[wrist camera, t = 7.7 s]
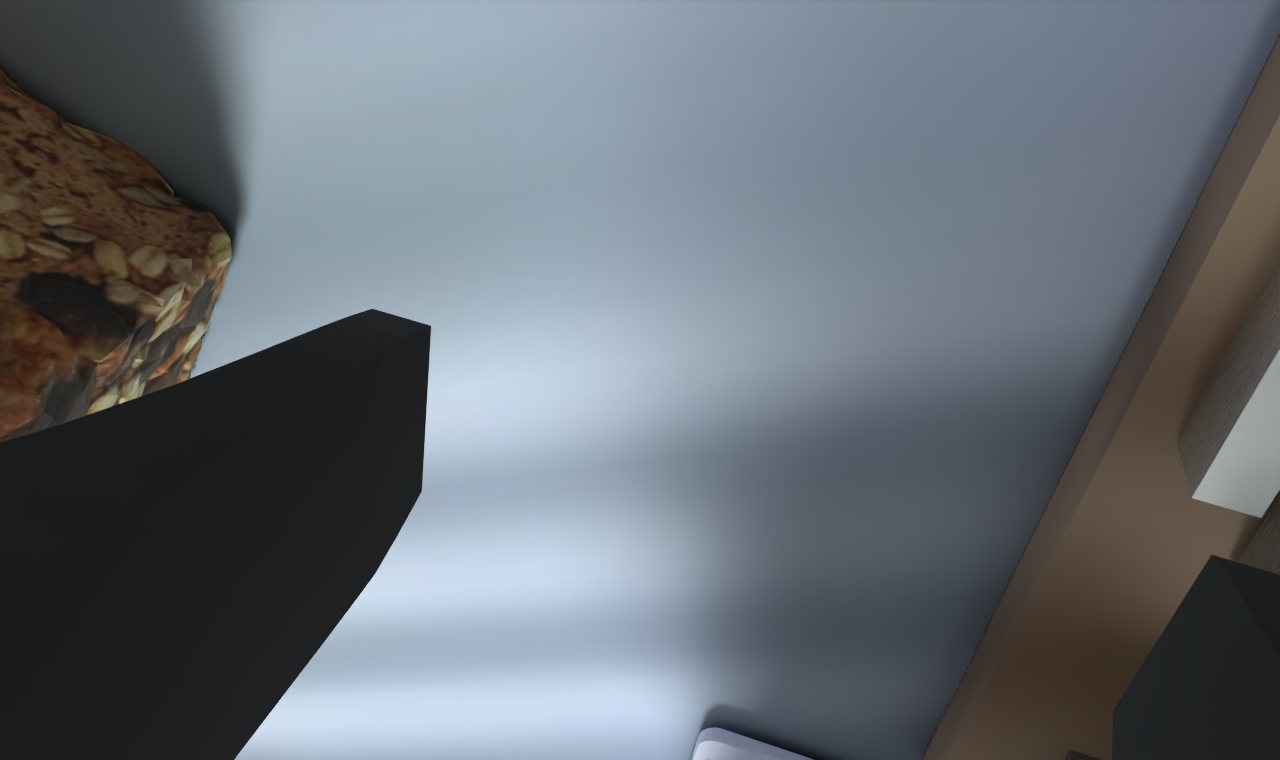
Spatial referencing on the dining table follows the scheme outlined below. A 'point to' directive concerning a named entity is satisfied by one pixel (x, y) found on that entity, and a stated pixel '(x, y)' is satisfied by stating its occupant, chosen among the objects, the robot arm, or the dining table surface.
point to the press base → (1146, 478)
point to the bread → (93, 271)
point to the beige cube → (1265, 543)
